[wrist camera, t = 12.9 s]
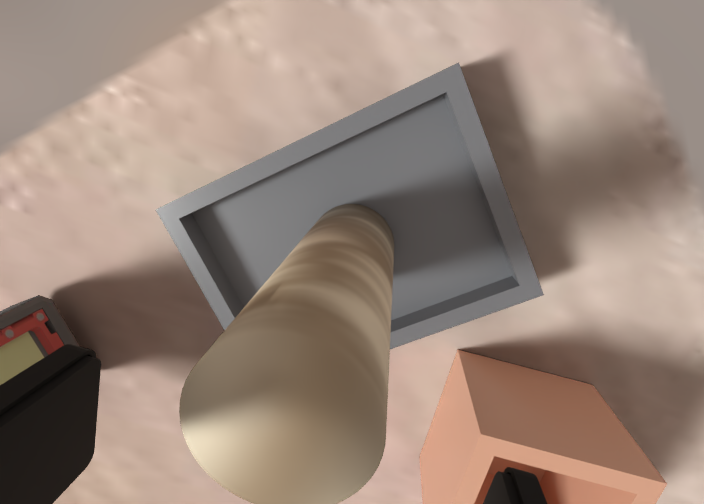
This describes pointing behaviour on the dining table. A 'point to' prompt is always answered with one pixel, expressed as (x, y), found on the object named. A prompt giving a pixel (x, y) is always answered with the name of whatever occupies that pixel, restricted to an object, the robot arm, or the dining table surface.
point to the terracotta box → (530, 438)
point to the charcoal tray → (383, 197)
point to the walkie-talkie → (30, 335)
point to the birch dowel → (301, 371)
